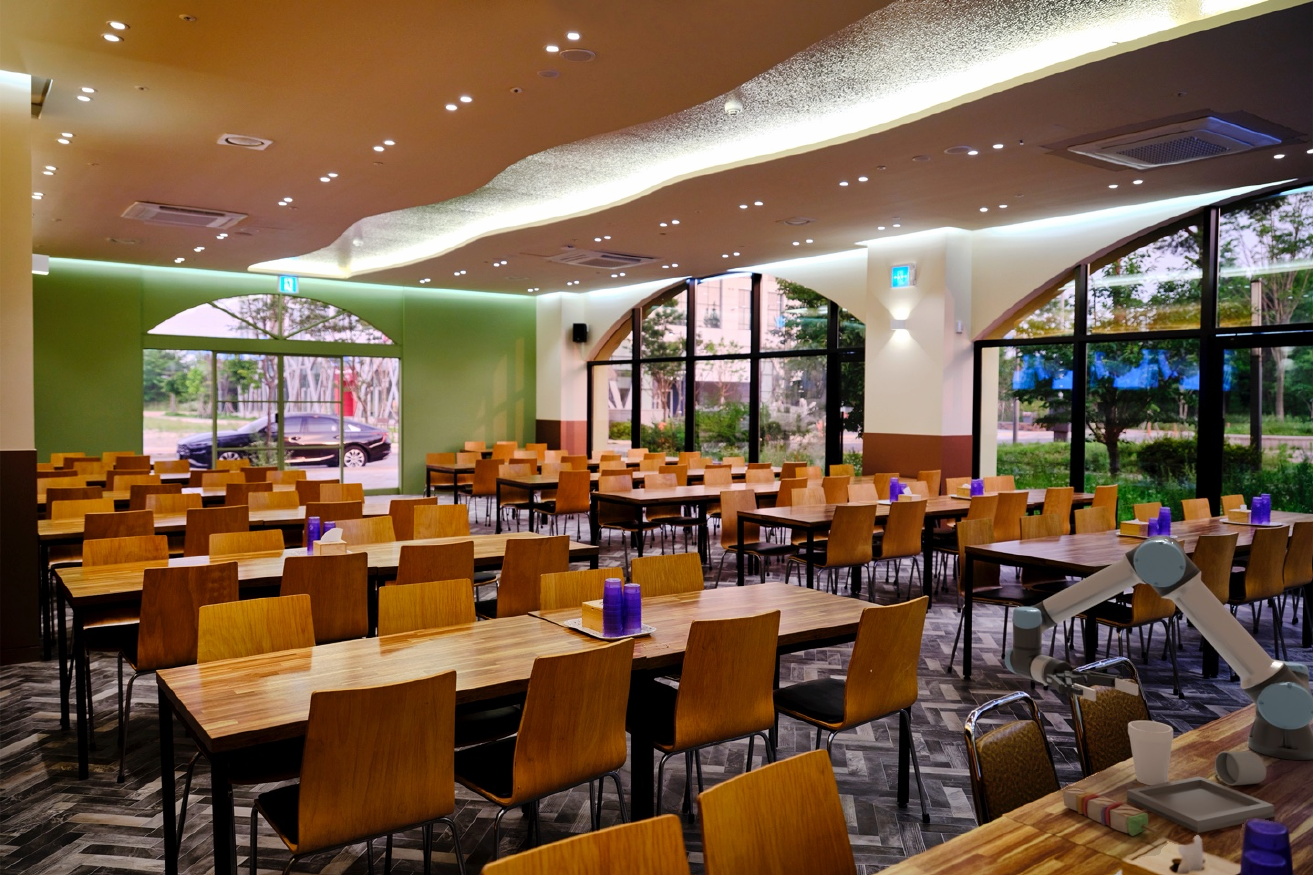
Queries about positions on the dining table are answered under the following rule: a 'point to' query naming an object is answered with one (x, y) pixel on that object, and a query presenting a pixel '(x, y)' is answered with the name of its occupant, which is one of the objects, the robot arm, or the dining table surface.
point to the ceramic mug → (1240, 767)
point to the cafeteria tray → (1199, 804)
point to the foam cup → (1151, 750)
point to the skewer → (1107, 811)
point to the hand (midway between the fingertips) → (1116, 692)
